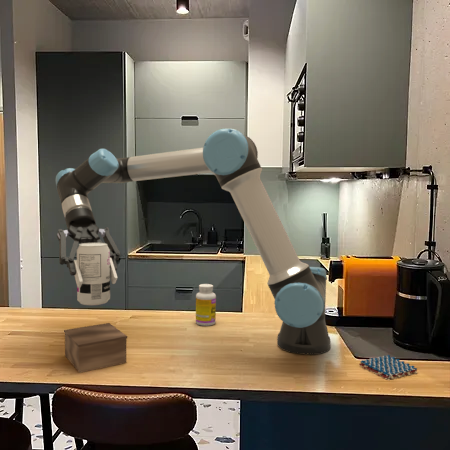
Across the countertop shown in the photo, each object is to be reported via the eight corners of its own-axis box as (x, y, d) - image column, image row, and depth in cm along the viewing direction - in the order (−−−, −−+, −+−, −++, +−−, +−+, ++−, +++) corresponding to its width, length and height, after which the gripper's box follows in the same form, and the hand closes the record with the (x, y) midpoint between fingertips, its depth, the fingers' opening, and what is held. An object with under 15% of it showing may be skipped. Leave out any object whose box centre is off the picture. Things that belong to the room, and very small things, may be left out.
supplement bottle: (213, 327, 149) (213, 288, 148) (193, 325, 150) (193, 286, 149) (217, 321, 156) (218, 283, 154) (198, 319, 157) (198, 282, 156)
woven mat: (356, 367, 118) (357, 359, 118) (387, 361, 123) (387, 353, 123) (387, 383, 109) (387, 374, 109) (419, 375, 114) (419, 367, 114)
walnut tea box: (127, 362, 118) (127, 336, 118) (78, 373, 111) (78, 344, 111) (109, 347, 129) (109, 322, 129) (64, 355, 122) (63, 330, 122)
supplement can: (71, 301, 119) (70, 244, 118) (99, 296, 125) (98, 241, 124) (87, 307, 113) (87, 247, 112) (116, 301, 119) (116, 244, 118)
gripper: (111, 222, 136) (133, 286, 124) (36, 225, 124) (52, 295, 112) (118, 205, 131) (141, 270, 119) (40, 206, 120) (57, 278, 108)
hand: (97, 282), depth 116 cm, fingers closed on supplement can, 8 cm apart
